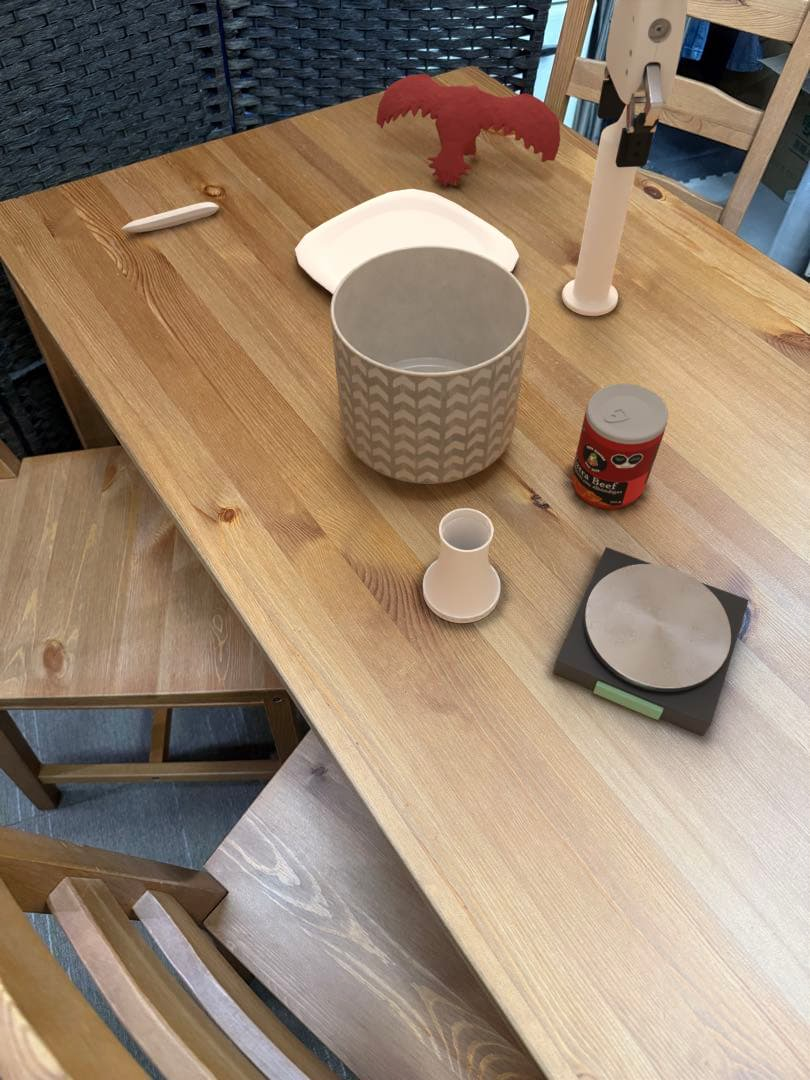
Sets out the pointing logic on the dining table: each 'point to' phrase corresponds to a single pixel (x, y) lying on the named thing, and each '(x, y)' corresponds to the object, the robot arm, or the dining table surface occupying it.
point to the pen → (172, 217)
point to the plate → (397, 234)
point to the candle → (602, 229)
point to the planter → (429, 361)
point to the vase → (462, 569)
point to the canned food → (618, 444)
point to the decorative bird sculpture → (469, 120)
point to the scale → (653, 640)
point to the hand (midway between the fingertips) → (620, 140)
